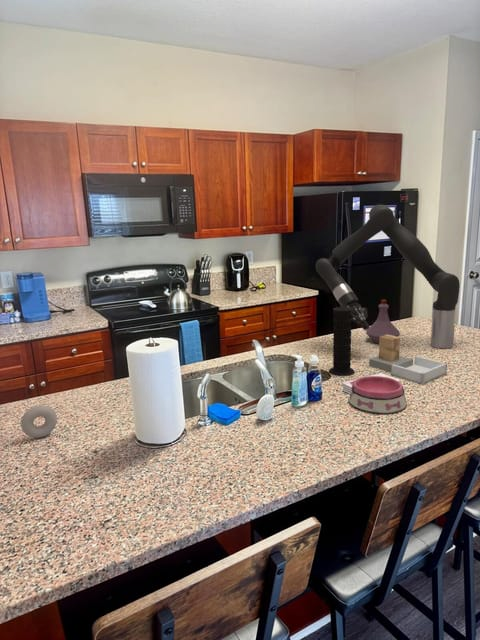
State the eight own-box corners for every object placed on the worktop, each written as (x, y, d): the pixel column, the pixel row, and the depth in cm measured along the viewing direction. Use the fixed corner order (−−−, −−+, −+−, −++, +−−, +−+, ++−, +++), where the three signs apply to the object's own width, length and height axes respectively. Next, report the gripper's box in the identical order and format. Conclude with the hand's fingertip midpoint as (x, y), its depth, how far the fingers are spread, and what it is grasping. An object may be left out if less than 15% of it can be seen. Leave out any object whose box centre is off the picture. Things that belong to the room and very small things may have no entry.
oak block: (386, 355, 182) (387, 334, 180) (399, 358, 178) (400, 337, 176) (378, 358, 180) (379, 336, 178) (391, 361, 175) (392, 339, 173)
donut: (24, 444, 129) (18, 412, 127) (22, 439, 132) (17, 408, 129) (60, 434, 134) (55, 403, 132) (58, 429, 137) (53, 399, 134)
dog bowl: (347, 390, 157) (347, 372, 155) (402, 392, 153) (403, 374, 152) (349, 413, 139) (349, 393, 138) (411, 416, 136) (412, 395, 134)
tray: (415, 365, 178) (416, 355, 177) (446, 373, 168) (447, 363, 167) (391, 374, 169) (391, 364, 168) (422, 384, 159) (422, 373, 158)
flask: (359, 337, 220) (360, 298, 215) (391, 335, 222) (392, 296, 217) (372, 347, 204) (373, 304, 199) (406, 344, 206) (408, 302, 201)
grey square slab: (387, 359, 187) (387, 352, 186) (412, 366, 177) (413, 359, 177) (369, 365, 180) (369, 358, 179) (394, 373, 170) (394, 366, 170)
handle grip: (331, 376, 170) (357, 375, 170) (331, 309, 164) (358, 308, 164) (326, 367, 180) (351, 366, 180) (327, 304, 174) (352, 303, 173)
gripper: (339, 292, 185) (362, 326, 178) (360, 289, 193) (382, 321, 186) (329, 303, 191) (351, 336, 184) (350, 299, 198) (371, 330, 191)
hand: (367, 328), depth 185 cm, fingers closed
